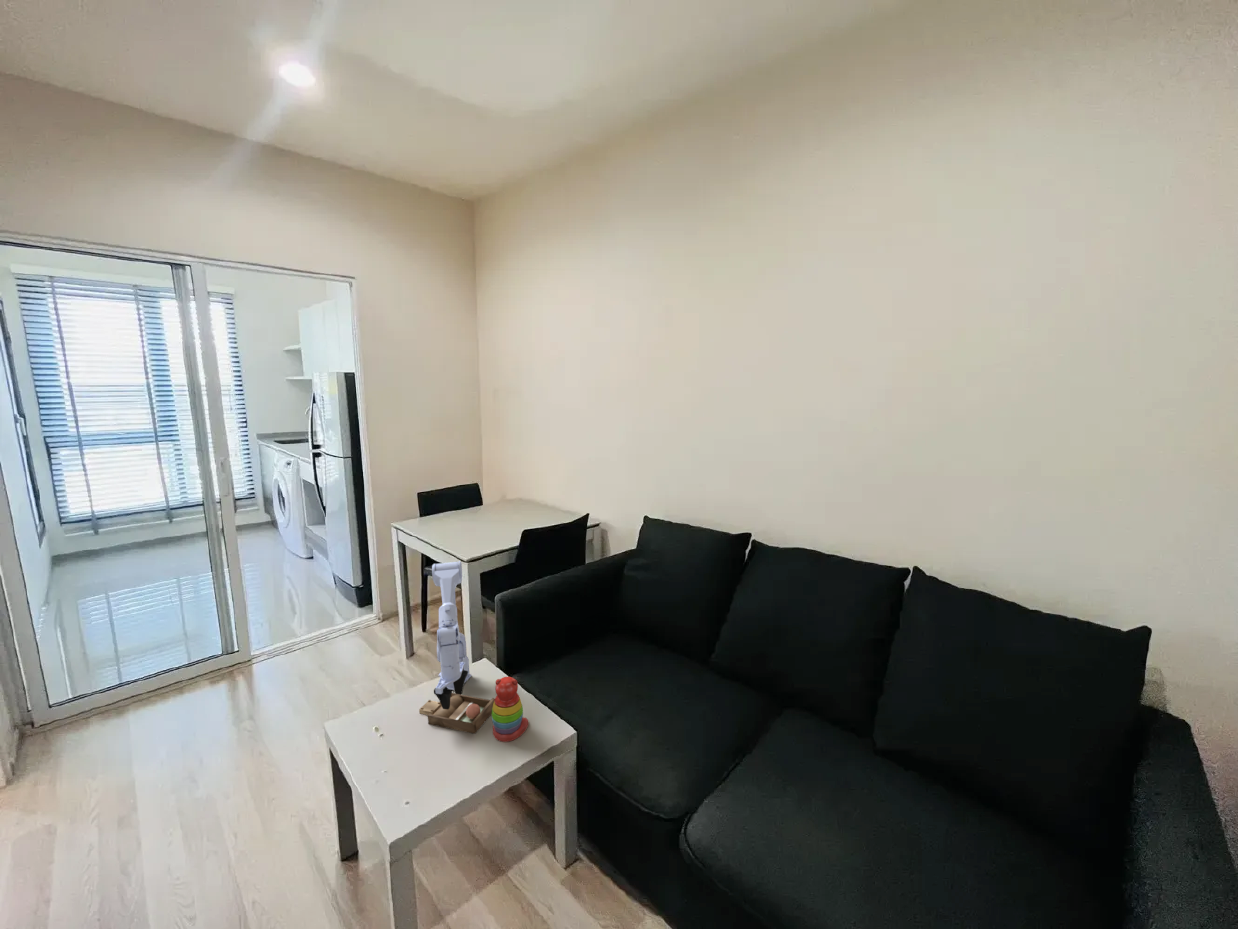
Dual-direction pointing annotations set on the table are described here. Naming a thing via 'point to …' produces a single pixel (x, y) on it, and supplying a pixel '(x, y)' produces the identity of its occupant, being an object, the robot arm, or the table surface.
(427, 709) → the wooden footed board
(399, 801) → the table surface
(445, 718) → the wooden tray
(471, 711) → the ball
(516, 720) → the stacking bear
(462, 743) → the table surface
